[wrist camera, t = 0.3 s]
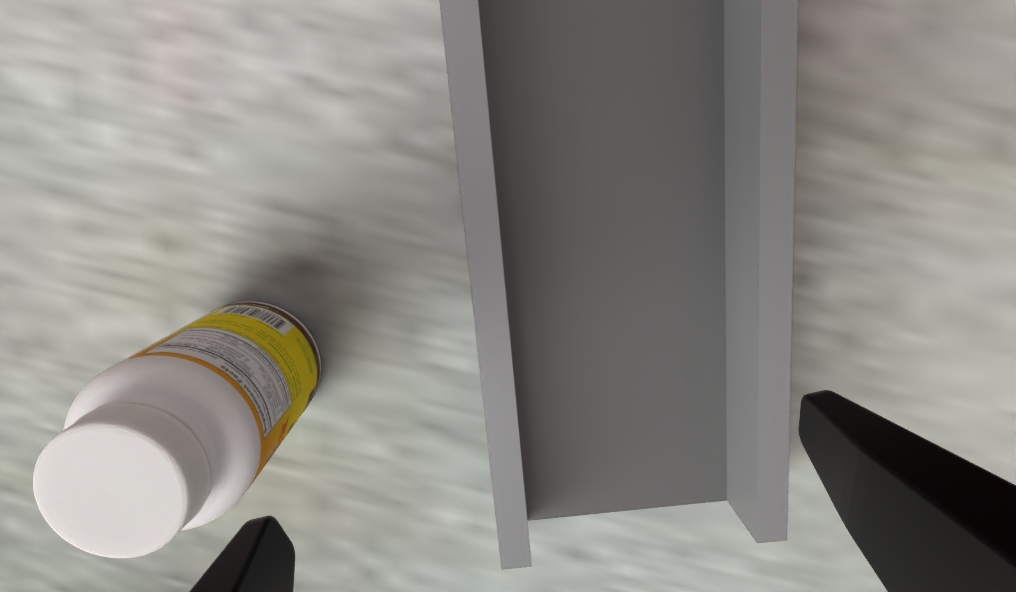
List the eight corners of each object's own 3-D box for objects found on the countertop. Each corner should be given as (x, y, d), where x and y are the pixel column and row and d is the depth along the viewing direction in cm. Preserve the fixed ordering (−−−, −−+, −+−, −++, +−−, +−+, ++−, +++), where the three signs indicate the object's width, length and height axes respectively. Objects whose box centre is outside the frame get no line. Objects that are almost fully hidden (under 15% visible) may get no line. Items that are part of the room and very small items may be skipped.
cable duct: (743, 485, 27) (787, 540, 23) (499, 510, 27) (501, 569, 23) (744, -95, 21) (801, -152, 18) (437, -68, 21) (426, -119, 17)
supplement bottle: (230, 437, 26) (65, 613, 16) (170, 323, 24) (-50, 436, 14) (347, 395, 25) (256, 548, 15) (293, 278, 24) (156, 360, 14)
